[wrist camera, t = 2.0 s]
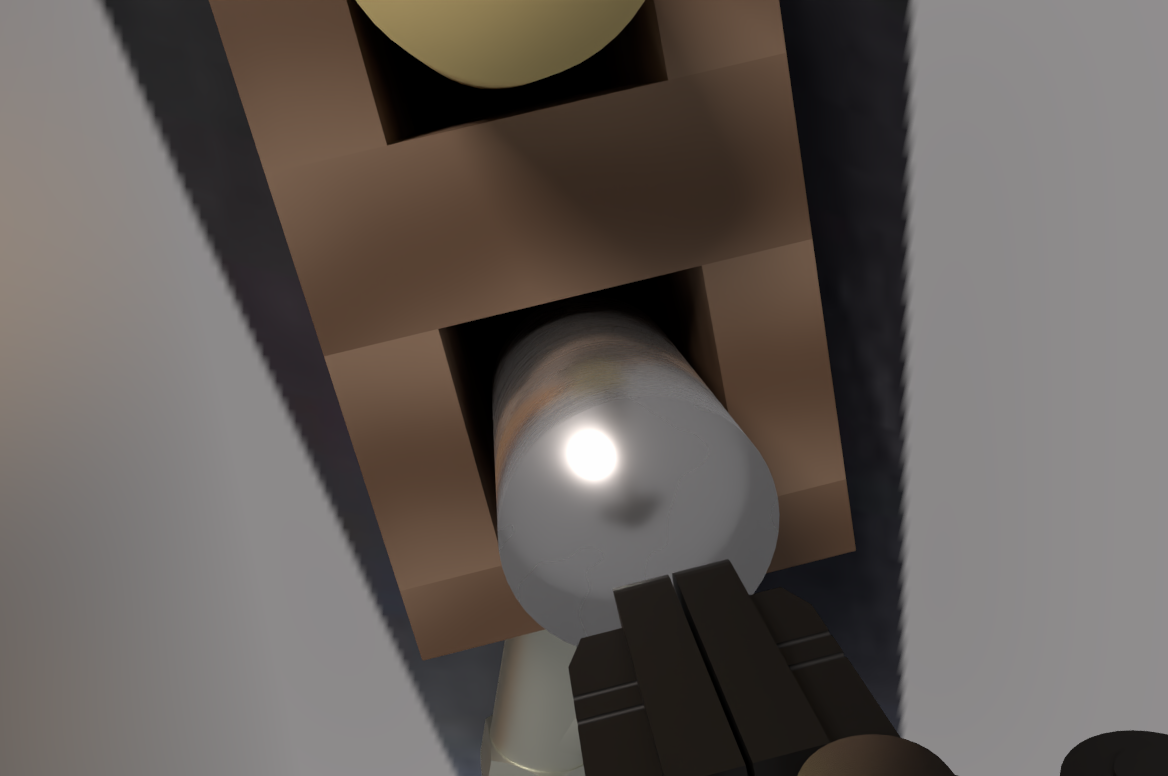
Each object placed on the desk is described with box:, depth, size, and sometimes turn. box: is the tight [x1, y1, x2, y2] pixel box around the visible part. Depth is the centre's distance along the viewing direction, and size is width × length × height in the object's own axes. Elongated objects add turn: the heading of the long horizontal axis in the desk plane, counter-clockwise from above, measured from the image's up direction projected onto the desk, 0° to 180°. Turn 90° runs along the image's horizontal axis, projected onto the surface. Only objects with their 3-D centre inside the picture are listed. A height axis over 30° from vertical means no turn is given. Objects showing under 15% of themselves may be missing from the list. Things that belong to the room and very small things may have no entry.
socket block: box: [209, 0, 856, 660], centre depth 22 cm, size 18×10×8 cm, turn 12°
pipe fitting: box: [480, 629, 585, 776], centre depth 29 cm, size 8×4×7 cm
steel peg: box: [491, 295, 780, 646], centre depth 18 cm, size 4×4×8 cm
